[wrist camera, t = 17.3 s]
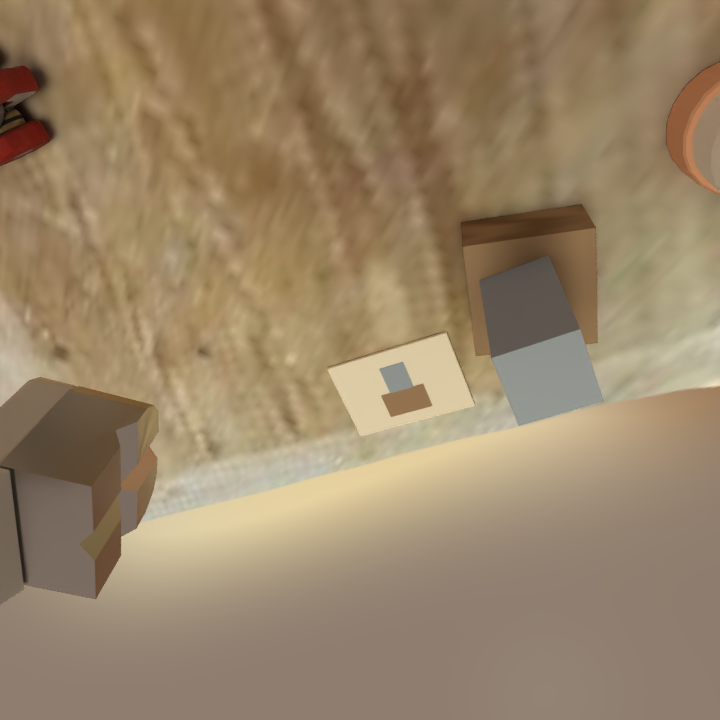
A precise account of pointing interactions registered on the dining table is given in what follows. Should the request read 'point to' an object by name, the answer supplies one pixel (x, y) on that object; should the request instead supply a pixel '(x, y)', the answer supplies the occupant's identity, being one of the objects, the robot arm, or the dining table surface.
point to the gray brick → (537, 343)
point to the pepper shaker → (697, 129)
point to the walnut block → (526, 244)
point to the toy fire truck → (18, 116)
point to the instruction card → (402, 384)
